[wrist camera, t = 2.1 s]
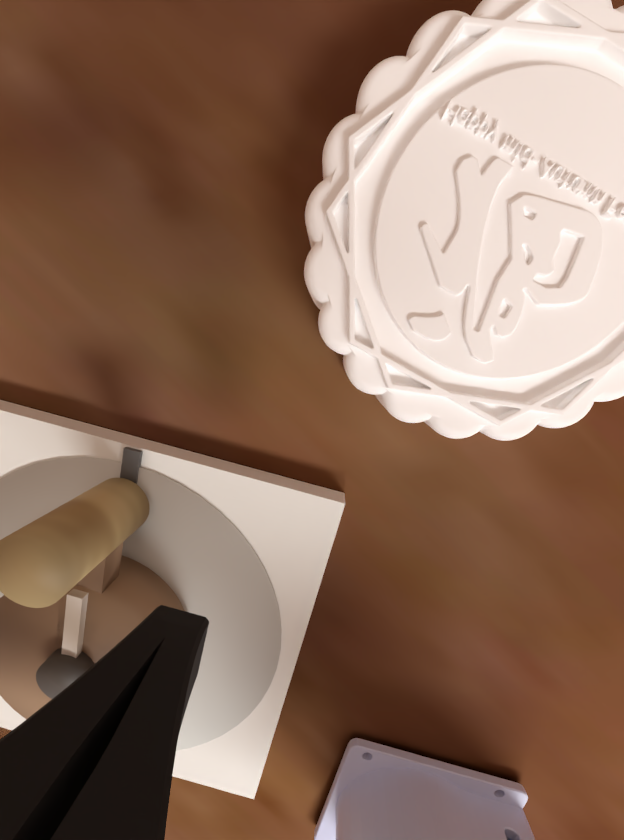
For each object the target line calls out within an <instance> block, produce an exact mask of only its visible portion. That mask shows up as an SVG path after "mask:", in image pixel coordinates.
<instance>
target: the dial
mask: <svg viewBox="0 0 624 840" xmlns="http://www.w3.org/2000/svg"><path fill="white" fill-rule="evenodd" d="M149 509H150V508H149V501H148V498H147V496H146V494H145V493H144V491H143V490H142V489H141V488H140V487H139V486H138V485H137V484H136V483H134V482H132V481H130V480H128V479H124V478H110V479H108V480H106V481H104V482H102V483H100V484H98V485H97V486H95V487H93V488H91V489H89V490H88V491H86V492H84V493H82V494H81V495H79V496H77V497H75V498H74V499H72V500H70V501H68V502H66V503H65V504H63V505H61V506H59V507H58V508H56V509H54V510H52V511H51V512H49V513H47V514H45V515H43V516H42V517H40V518H38V519H36V520H35V521H33V522H31V523H29V524H28V525H26V526H24V527H22V528H20V529H19V530H17V531H15V532H13V533H12V534H10V535H8V536H6V537H5V538H3V539H1V540H0V591H1V592H2V593H3V594H4V595H3V596H2V597H1V598H0V696H1V697H2V698H3V699H4V700H5V701H6V702H7V703H8V704H9V705H10V706H11V707H12V708H13V709H14V710H15V711H16V712H17V713H19V714H20V715H21V716H22V717H24V718H25V719H28V718H29V717H30V716H31V715H33V714H34V713H35V712H37V711H38V710H39V709H40V708H42V707H43V706H44V705H45V704H47V703H48V702H49V701H50V700H52V699H53V698H54V697H55V696H57V695H58V694H59V693H60V692H62V691H63V690H64V689H65V688H67V687H68V686H69V685H70V684H72V683H73V682H74V681H75V680H76V679H78V678H79V677H80V676H81V675H82V674H83V673H85V672H86V671H87V670H88V669H89V668H90V667H92V666H93V665H94V664H95V663H96V662H97V661H99V660H100V659H101V658H102V657H103V656H105V655H106V654H107V653H108V652H109V651H110V650H111V649H113V648H114V647H115V646H116V645H117V644H118V643H119V642H120V641H121V640H123V639H124V638H125V637H126V636H127V635H128V634H129V633H130V632H131V631H132V630H134V629H135V628H136V627H137V626H138V625H139V624H140V623H141V622H142V621H143V620H144V619H145V618H146V617H147V616H148V615H149V614H150V613H152V612H153V611H154V610H155V609H156V608H157V607H158V606H160V605H164V606H168V607H171V608H175V609H179V610H182V611H185V610H184V608H183V606H182V604H181V602H180V600H179V599H178V597H177V596H176V594H175V593H174V591H173V590H172V589H171V588H170V587H169V585H168V584H167V583H166V582H165V581H164V580H163V579H162V578H161V577H160V576H158V575H157V574H156V573H155V572H153V571H152V570H151V569H149V568H148V567H146V566H144V565H143V564H141V563H139V562H137V561H135V560H133V559H131V558H129V557H126V556H123V555H122V549H123V542H124V541H125V540H126V539H127V538H128V537H129V536H130V535H131V534H133V533H134V532H135V531H136V530H137V529H138V528H139V527H140V526H141V525H143V524H144V522H145V521H146V520H147V518H148V515H149Z"/></svg>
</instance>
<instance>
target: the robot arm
mask: <svg viewBox="0 0 624 840" xmlns="http://www.w3.org/2000/svg"><path fill="white" fill-rule="evenodd" d="M208 625H209V621H208V619H207V618H206V617H204V616H200V615H197V614H193V613H190V612H186V611H182V610H179V609H175V608H171V607H168V606H164V605H160V606H158V607H157V608H156V609H155V610H154V611H153V612H152V613H150V614H149V615H148V616H147V617H146V618H145V619H144V620H143V621H142V622H141V623H140V624H139V625H138V626H137V627H136V628H135V629H134V630H132V631H131V632H130V633H129V634H128V635H127V636H126V637H125V638H124V639H123V640H121V641H120V642H119V643H118V644H117V645H116V646H115V647H114V648H113V649H111V650H110V651H109V652H108V653H107V654H106V655H105V656H103V657H102V658H101V659H100V660H99V661H97V662H96V663H95V664H94V665H93V666H92V667H90V668H89V669H88V670H87V671H86V672H85V673H83V674H82V675H81V676H80V677H79V678H78V679H76V680H75V681H74V682H73V683H72V684H70V685H69V686H68V687H67V688H65V689H64V690H63V691H62V692H60V693H59V694H58V695H57V696H55V697H54V698H53V699H52V700H50V701H49V702H48V703H47V704H45V705H44V706H43V707H42V708H40V709H39V710H38V711H37V712H35V713H34V714H33V715H31V716H30V717H29V718H28V719H26V720H25V721H24V722H23V723H21V724H20V725H19V726H17V727H16V728H15V729H14V730H12V731H11V732H10V733H8V734H7V735H6V736H4V737H3V738H2V739H0V840H164V837H165V828H166V819H167V811H168V803H169V795H170V788H171V781H172V774H173V767H174V760H175V754H176V747H177V741H178V736H179V732H180V728H181V725H182V721H183V718H184V714H185V711H186V708H187V704H188V701H189V698H190V695H191V692H192V689H193V686H194V683H195V680H196V678H197V675H198V671H199V666H200V662H201V657H202V653H203V648H204V643H205V639H206V634H207V630H208ZM527 799H528V796H527V793H526V791H525V789H524V787H523V786H522V785H521V784H519V783H517V782H513V781H510V780H506V779H503V778H499V777H496V776H492V775H488V774H485V773H481V772H478V771H474V770H471V769H467V768H464V767H460V766H456V765H453V764H449V763H446V762H442V761H439V760H435V759H432V758H428V757H424V756H421V755H417V754H414V753H410V752H407V751H403V750H400V749H396V748H392V747H389V746H385V745H382V744H378V743H375V742H371V741H368V740H364V739H360V738H353V739H351V740H350V741H349V743H348V745H347V748H346V750H345V753H344V755H343V758H342V760H341V763H340V766H339V768H338V771H337V773H336V776H335V779H334V781H333V784H332V786H331V789H330V792H329V794H328V797H327V799H326V802H325V805H324V807H323V810H322V812H321V815H320V818H319V820H318V823H317V825H316V828H315V835H314V840H535V838H534V835H533V833H532V831H531V828H530V826H529V823H528V821H527V818H526V816H525V813H524V811H523V807H524V805H525V804H526V802H527Z"/></svg>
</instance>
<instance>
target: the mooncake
mask: <svg viewBox="0 0 624 840" xmlns="http://www.w3.org/2000/svg"><path fill="white" fill-rule="evenodd" d="M322 167H323V181H322V182H320V183H319V184H318V185H317V186H316V187H315V188H314V190H313V191H312V193H311V194H310V196H309V199H308V201H307V204H306V209H305V224H306V229H307V233H308V237H309V241H310V246H311V250H310V252H309V254H308V256H307V258H306V261H305V266H304V278H305V283H306V286H307V288H308V291H309V293H310V295H311V297H312V300H313V302H314V303H315V305H316V306H317V307H318V308H319V309H320V312H319V317H318V327H319V332H320V335H321V337H322V339H323V341H324V342H325V343H326V345H327V346H328V347H329V348H330V349H332V350H333V351H335V352H337V353H339V354H342V355H344V356H343V365H344V369H345V372H346V374H347V376H348V378H349V380H350V381H351V383H352V384H353V385H354V386H355V387H356V388H357V389H359V390H361V391H362V392H365V393H368V394H373V395H376V397H377V399H378V400H379V402H380V403H381V404H382V405H383V406H384V407H385V409H386V410H387V411H388V412H389V413H390V414H391V415H392V416H393V417H395V418H396V419H398V420H400V421H403V422H407V423H419V422H423V421H424V422H425V423H426V424H427V425H429V426H430V427H431V428H432V429H434V430H435V431H436V432H437V433H439V434H441V435H443V436H445V437H448V438H454V439H460V438H466V437H469V436H472V435H474V434H476V433H477V432H481V433H483V434H485V435H487V436H489V437H490V438H493V439H496V440H503V441H506V440H514V439H518V438H521V437H523V436H525V435H526V434H528V433H529V432H531V431H532V430H533V429H534V428H535V427H536V425H540V426H543V427H547V428H562V427H566V426H569V425H572V424H574V423H576V422H578V421H579V420H581V419H582V418H583V417H584V416H585V415H586V414H587V413H588V412H589V410H590V409H591V407H592V405H593V403H594V401H595V402H605V401H611V400H615V399H618V398H620V397H622V396H624V5H623V6H621V7H619V8H617V9H613V6H612V2H611V0H482V1H481V2H480V3H479V5H478V6H477V7H476V9H475V10H474V12H473V13H472V15H471V16H470V15H468V14H467V13H464V12H461V11H456V10H450V11H444V12H441V13H438V14H437V15H435V16H433V17H431V18H430V19H429V20H427V21H426V22H425V23H424V24H423V25H422V26H421V27H420V28H419V30H418V31H417V33H416V34H415V36H414V37H413V39H412V41H411V43H410V45H409V48H408V51H407V54H406V56H394V57H389V58H387V59H385V60H383V61H381V62H380V63H378V64H377V65H376V66H375V67H374V68H373V69H372V70H371V71H370V72H369V73H368V74H367V76H366V77H365V79H364V81H363V83H362V85H361V87H360V90H359V93H358V97H357V102H356V112H355V114H352V115H350V116H347V117H345V118H344V119H342V120H341V121H340V122H339V123H337V124H336V125H335V127H334V128H333V129H332V130H331V132H330V134H329V135H328V137H327V139H326V142H325V145H324V149H323V155H322Z"/></svg>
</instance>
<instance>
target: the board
mask: <svg viewBox="0 0 624 840" xmlns="http://www.w3.org/2000/svg"><path fill="white" fill-rule="evenodd" d="M110 478H124V479H128V480H130V481H132V482H134V483H136V484H137V485H138V486H139V487H140V488H141V489H142V490H143V491H144V493H145V494H146V496H147V498H148V501H149V508H150V509H149V515H148V518H147V520H146V521H145V522H144V524H143V525H141V526H140V527H139V528H138V529H137V530H136V531H135V532H134V533H133V534H131V535H130V536H129V537H128V538H127V539H126V540H125V541H124V542H123V549H122V555H123V556H126V557H129V558H131V559H133V560H135V561H137V562H139V563H141V564H143V565H144V566H146V567H148V568H149V569H151V570H152V571H153V572H155V573H156V574H157V575H158V576H160V577H161V578H162V579H163V580H164V581H165V582H166V583H167V584H168V585H169V587H170V588H171V589H172V590H173V591H174V593H175V594H176V596H177V597H178V599H179V600H180V602H181V604H182V606H183V608H184V610H185V611H186V612H190V613H193V614H197V615H200V616H204V617H206V618H207V619H208V621H209V625H208V630H207V634H206V639H205V643H204V648H203V653H202V657H201V662H200V666H199V671H198V675H197V678H196V680H195V683H194V686H193V689H192V692H191V695H190V698H189V701H188V704H187V708H186V711H185V714H184V718H183V721H182V725H181V728H180V732H179V736H178V741H177V747H176V754H175V760H174V767H173V774H172V776H174V777H178V778H181V779H185V780H188V781H192V782H195V783H199V784H202V785H206V786H209V787H213V788H216V789H220V790H223V791H227V792H230V793H234V794H237V795H241V796H244V797H248V798H251V799H254V797H255V794H256V791H257V787H258V784H259V781H260V778H261V774H262V771H263V768H264V765H265V762H266V758H267V755H268V752H269V749H270V745H271V742H272V739H273V736H274V732H275V729H276V726H277V723H278V720H279V716H280V713H281V710H282V707H283V703H284V700H285V697H286V694H287V690H288V687H289V684H290V681H291V678H292V674H293V671H294V668H295V665H296V661H297V658H298V655H299V652H300V648H301V645H302V642H303V639H304V635H305V632H306V629H307V626H308V623H309V619H310V616H311V613H312V610H313V606H314V603H315V600H316V597H317V593H318V590H319V587H320V584H321V581H322V577H323V574H324V571H325V568H326V564H327V561H328V558H329V555H330V551H331V548H332V545H333V542H334V539H335V535H336V532H337V529H338V526H339V522H340V519H341V516H342V513H343V509H344V506H345V493H343V492H339V491H335V490H332V489H328V488H324V487H321V486H317V485H313V484H309V483H306V482H302V481H298V480H295V479H291V478H287V477H284V476H280V475H276V474H273V473H269V472H265V471H262V470H258V469H254V468H250V467H247V466H243V465H239V464H236V463H232V462H228V461H225V460H221V459H217V458H214V457H210V456H206V455H203V454H199V453H195V452H191V451H188V450H184V449H180V448H177V447H173V446H169V445H166V444H162V443H158V442H155V441H151V440H147V439H143V438H140V437H136V436H132V435H129V434H125V433H121V432H118V431H114V430H110V429H107V428H103V427H99V426H96V425H92V424H88V423H84V422H81V421H77V420H73V419H70V418H66V417H62V416H59V415H55V414H51V413H48V412H44V411H40V410H36V409H33V408H29V407H25V406H22V405H18V404H14V403H11V402H7V401H3V400H0V540H1V539H3V538H5V537H6V536H8V535H10V534H12V533H13V532H15V531H17V530H19V529H20V528H22V527H24V526H26V525H28V524H29V523H31V522H33V521H35V520H36V519H38V518H40V517H42V516H43V515H45V514H47V513H49V512H51V511H52V510H54V509H56V508H58V507H59V506H61V505H63V504H65V503H66V502H68V501H70V500H72V499H74V498H75V497H77V496H79V495H81V494H82V493H84V492H86V491H88V490H89V489H91V488H93V487H95V486H97V485H98V484H100V483H102V482H104V481H106V480H108V479H110ZM3 595H4V594H3V593H2V592H1V591H0V598H1V597H2V596H3ZM25 720H26V719H25V718H24V717H22V716H21V715H20V714H19V713H17V712H16V711H15V710H14V709H13V708H12V707H11V706H10V705H9V704H8V703H7V702H6V701H5V700H4V699H3V698H2V697H1V696H0V727H2V728H6V729H9V730H14V729H15V728H16V727H17V726H19V725H20V724H21V723H23V722H24V721H25Z"/></svg>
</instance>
